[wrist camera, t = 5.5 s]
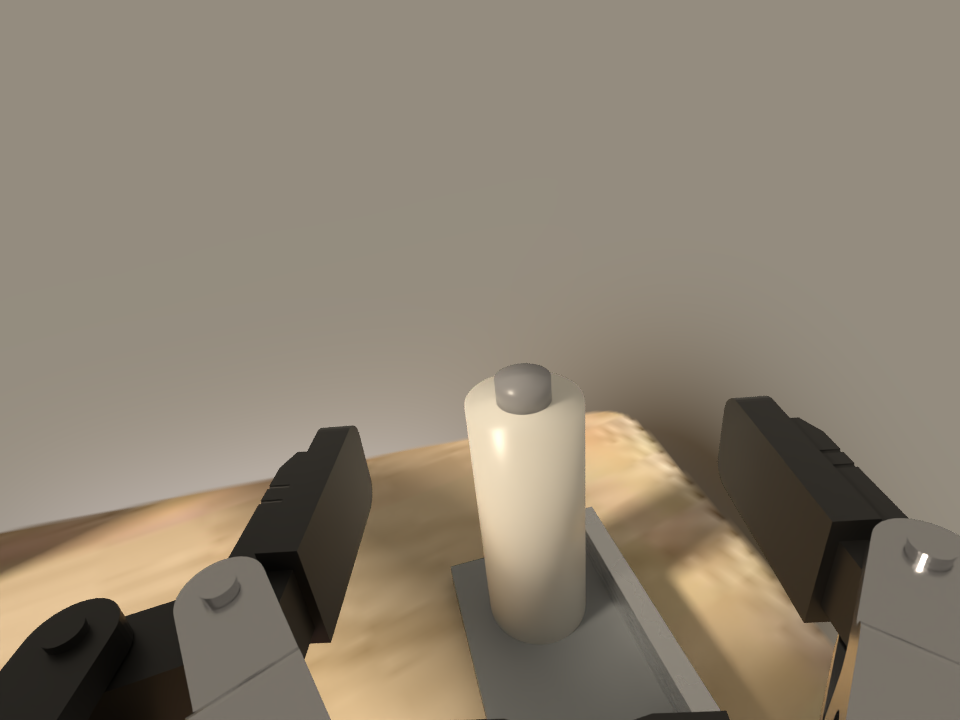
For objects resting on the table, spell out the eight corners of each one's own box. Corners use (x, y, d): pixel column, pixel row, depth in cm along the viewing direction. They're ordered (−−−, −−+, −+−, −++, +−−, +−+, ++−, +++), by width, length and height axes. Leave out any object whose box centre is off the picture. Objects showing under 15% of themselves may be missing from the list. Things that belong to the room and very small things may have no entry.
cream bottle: (568, 660, 27) (562, 421, 20) (474, 623, 30) (439, 398, 23) (597, 575, 32) (599, 356, 25) (513, 549, 34) (493, 342, 27)
